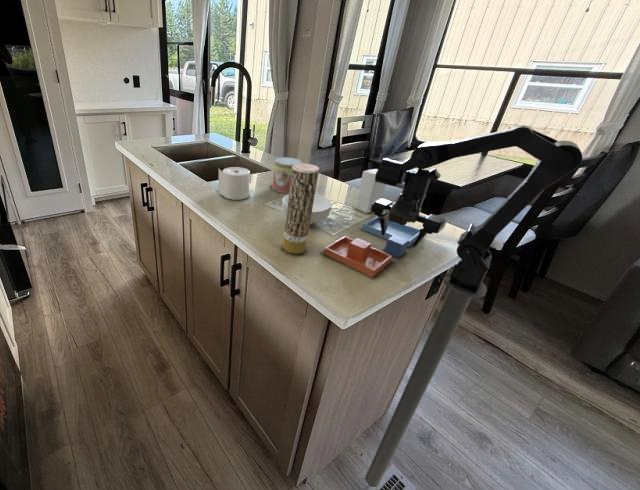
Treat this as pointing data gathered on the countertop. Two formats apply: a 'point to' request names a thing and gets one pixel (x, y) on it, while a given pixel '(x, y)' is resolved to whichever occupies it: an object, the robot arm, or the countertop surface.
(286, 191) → the canned food
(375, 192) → the cosmetic box
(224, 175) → the toilet tissue
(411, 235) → the blue tray
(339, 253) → the clay tray
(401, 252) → the blue block
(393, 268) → the countertop surface
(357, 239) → the clay block
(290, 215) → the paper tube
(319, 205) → the cereal bowl
